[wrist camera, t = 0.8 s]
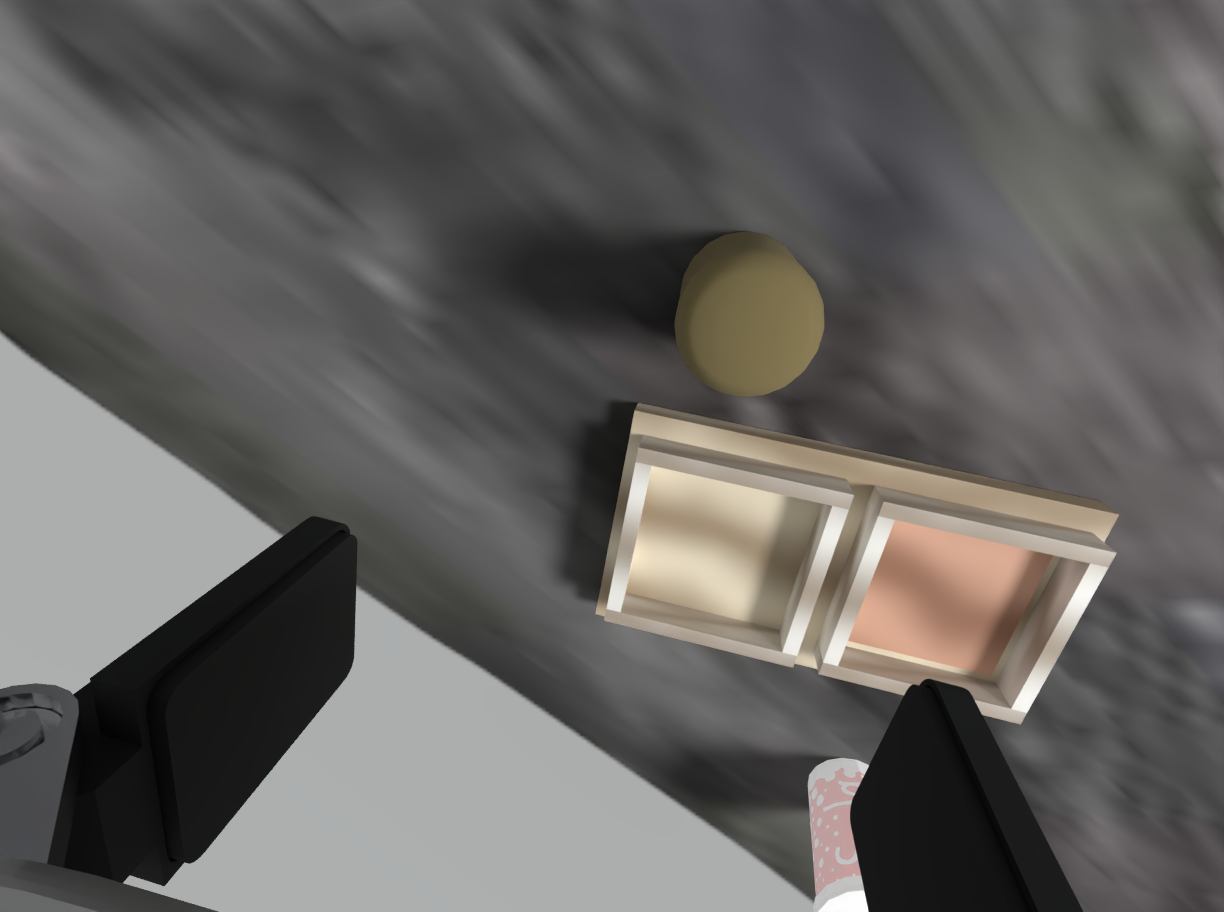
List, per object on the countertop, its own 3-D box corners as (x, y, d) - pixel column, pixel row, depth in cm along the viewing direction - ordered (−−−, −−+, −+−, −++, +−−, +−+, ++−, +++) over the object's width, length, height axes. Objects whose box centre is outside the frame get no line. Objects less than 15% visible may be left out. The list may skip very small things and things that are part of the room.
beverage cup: (908, 764, 39) (1001, 1036, 26) (874, 830, 41) (944, 1109, 28) (812, 737, 39) (855, 990, 26) (784, 803, 42) (810, 1066, 29)
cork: (796, 358, 31) (831, 424, 21) (677, 353, 32) (655, 414, 22) (811, 231, 29) (858, 236, 19) (682, 230, 30) (661, 234, 20)
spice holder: (638, 402, 33) (629, 421, 30) (1101, 501, 31) (1145, 533, 28) (600, 599, 38) (588, 634, 35) (997, 697, 36) (1024, 744, 33)
